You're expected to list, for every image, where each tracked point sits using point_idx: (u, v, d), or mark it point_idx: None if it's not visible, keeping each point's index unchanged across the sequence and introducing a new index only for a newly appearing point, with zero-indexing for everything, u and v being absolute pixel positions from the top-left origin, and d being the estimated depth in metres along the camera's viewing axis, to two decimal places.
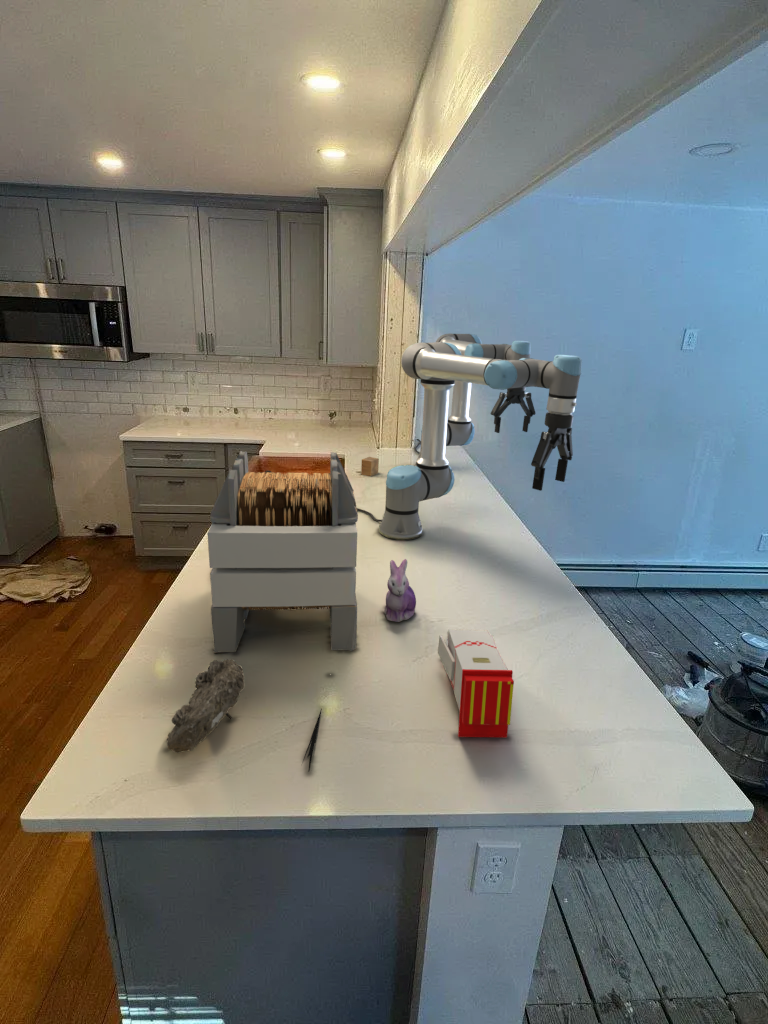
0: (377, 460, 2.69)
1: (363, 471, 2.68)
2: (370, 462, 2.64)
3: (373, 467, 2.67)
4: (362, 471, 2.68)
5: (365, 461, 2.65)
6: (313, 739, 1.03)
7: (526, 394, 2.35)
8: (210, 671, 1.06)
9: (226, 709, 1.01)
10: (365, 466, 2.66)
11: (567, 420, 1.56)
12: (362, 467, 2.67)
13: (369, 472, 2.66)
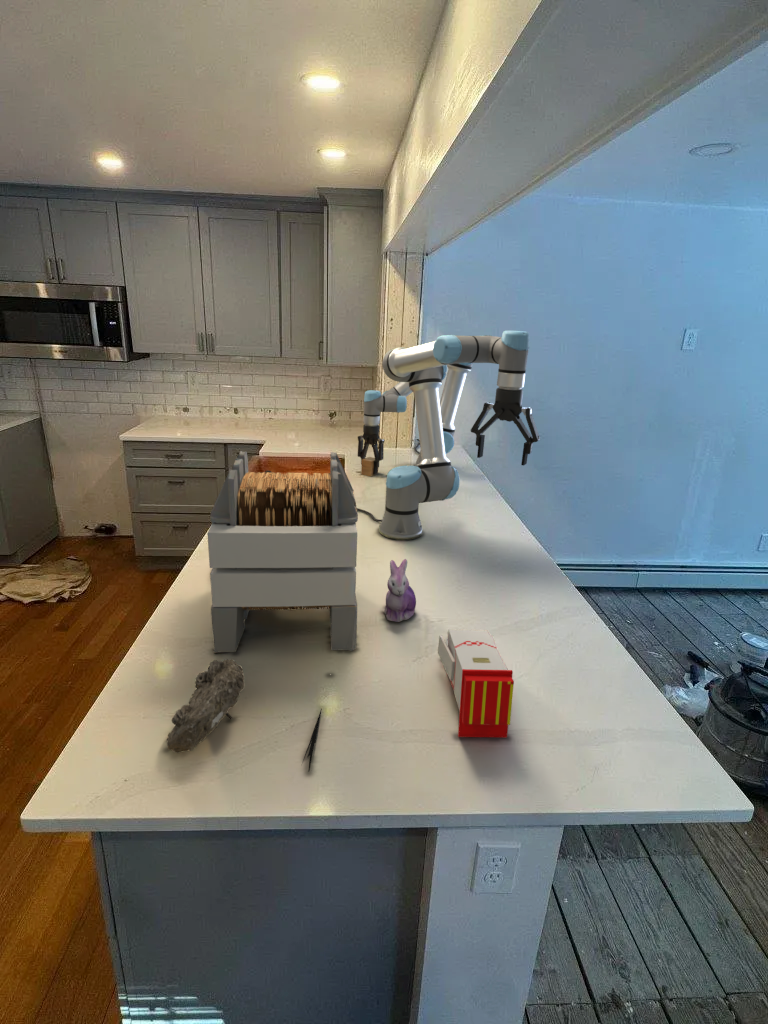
0: None
1: (363, 471, 2.68)
2: (370, 462, 2.64)
3: None
4: (362, 471, 2.68)
5: (365, 461, 2.65)
6: (313, 739, 1.03)
7: None
8: (210, 671, 1.06)
9: (226, 709, 1.01)
10: (365, 466, 2.66)
11: None
12: (362, 467, 2.67)
13: (369, 472, 2.66)
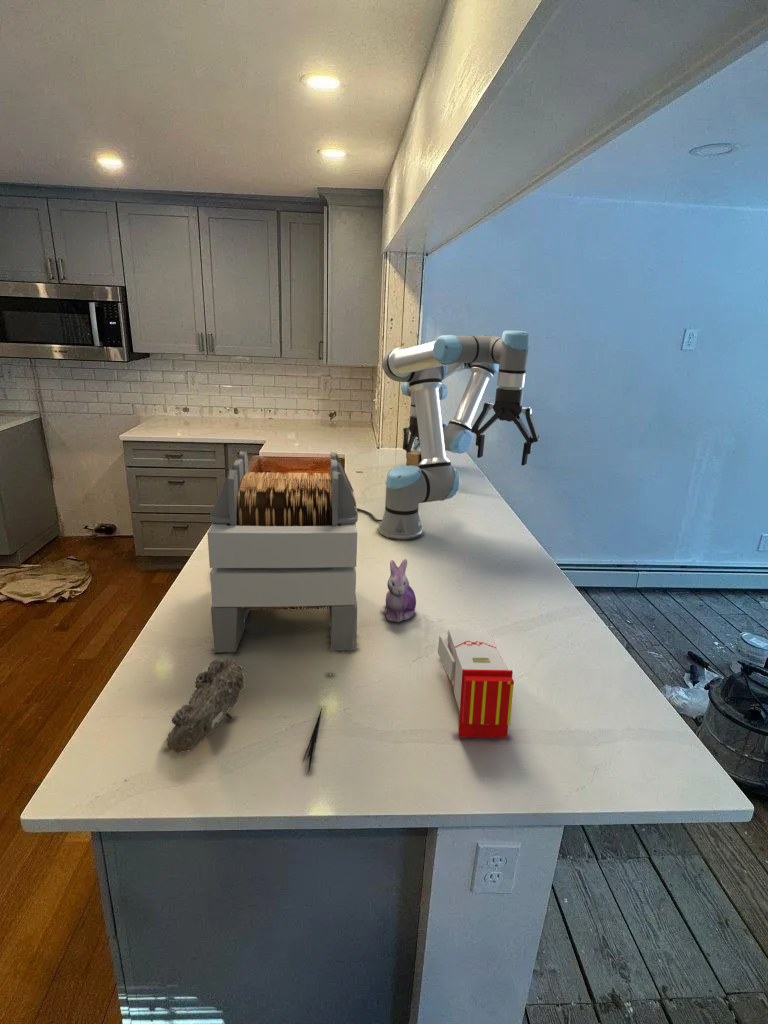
0: None
1: (408, 465, 2.56)
2: (416, 455, 2.52)
3: None
4: (407, 465, 2.56)
5: (410, 454, 2.53)
6: (313, 739, 1.03)
7: None
8: (210, 671, 1.06)
9: (226, 709, 1.01)
10: (411, 460, 2.54)
11: None
12: (407, 461, 2.56)
13: None
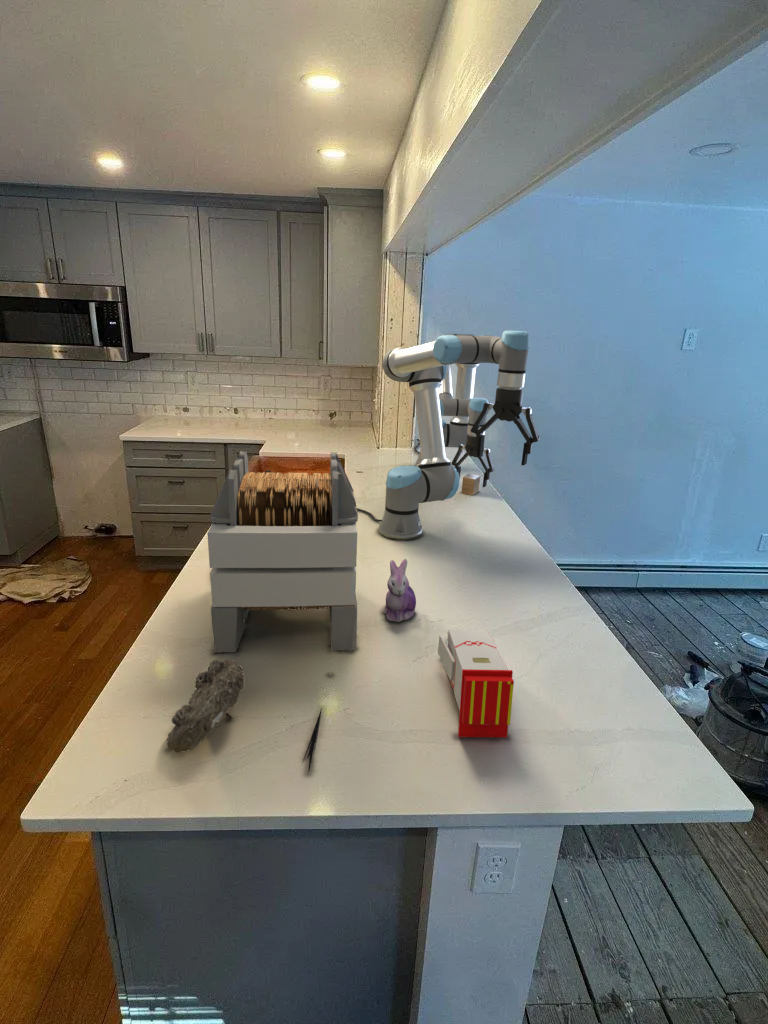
0: (479, 478, 2.48)
1: (464, 490, 2.47)
2: (473, 480, 2.43)
3: (475, 486, 2.46)
4: (463, 490, 2.47)
5: (467, 479, 2.45)
6: (313, 739, 1.03)
7: None
8: (210, 671, 1.06)
9: (226, 709, 1.01)
10: (467, 485, 2.45)
11: None
12: (462, 485, 2.47)
13: (471, 490, 2.45)
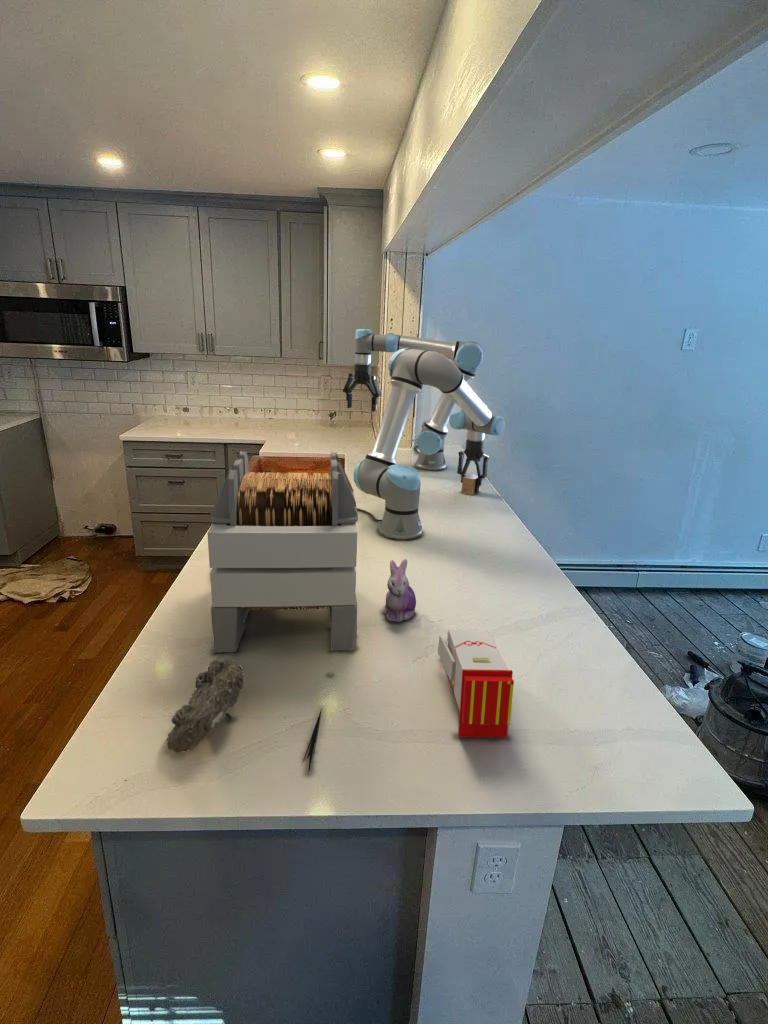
0: None
1: (464, 490, 2.47)
2: (473, 480, 2.43)
3: (475, 486, 2.46)
4: (463, 490, 2.47)
5: (467, 479, 2.45)
6: (313, 739, 1.03)
7: None
8: (210, 671, 1.06)
9: (226, 709, 1.01)
10: (467, 485, 2.45)
11: None
12: (462, 485, 2.47)
13: (471, 490, 2.45)
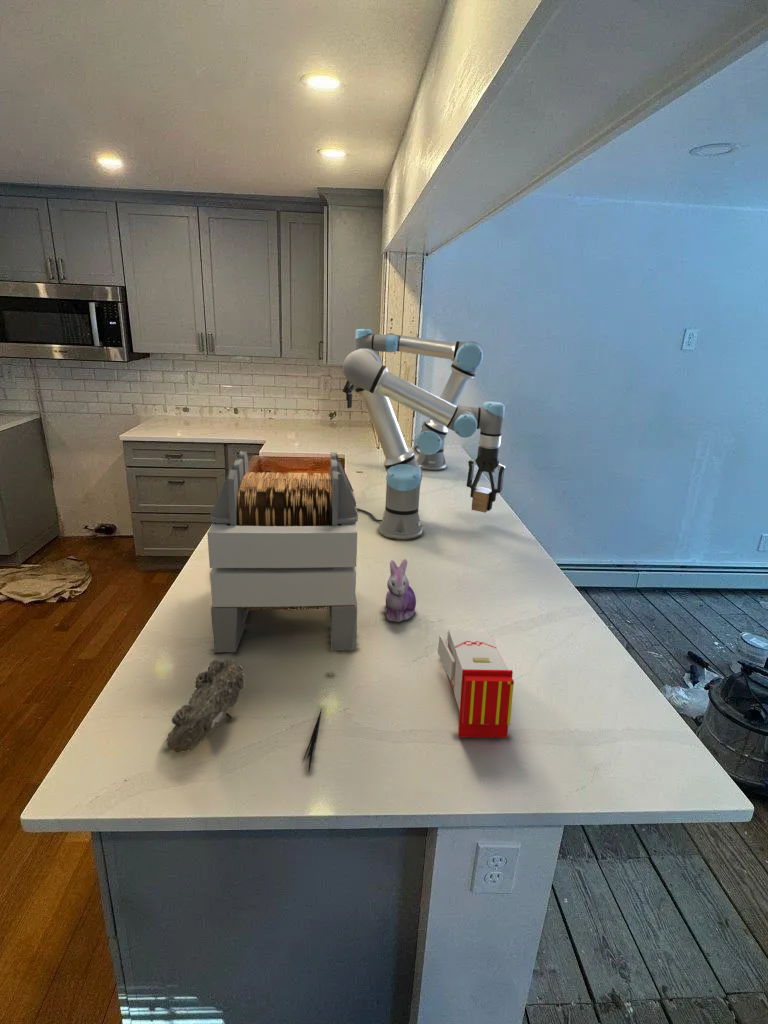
0: None
1: (474, 506, 2.07)
2: (486, 495, 2.03)
3: (488, 501, 2.06)
4: (473, 506, 2.07)
5: (479, 493, 2.05)
6: (313, 739, 1.03)
7: None
8: (210, 671, 1.06)
9: (226, 709, 1.01)
10: (478, 500, 2.05)
11: None
12: (473, 501, 2.06)
13: (484, 507, 2.05)
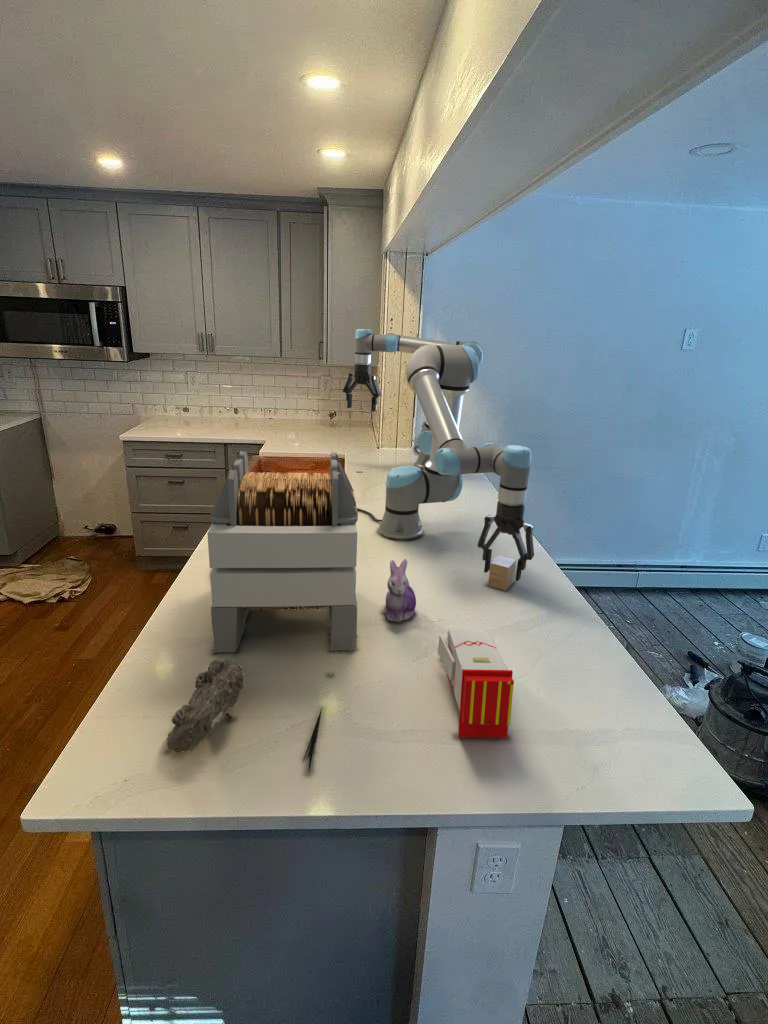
0: (514, 563, 1.65)
1: (492, 582, 1.64)
2: (506, 569, 1.60)
3: (509, 576, 1.63)
4: (490, 581, 1.64)
5: (497, 566, 1.62)
6: (313, 739, 1.03)
7: None
8: (210, 671, 1.06)
9: (226, 709, 1.01)
10: (497, 575, 1.62)
11: None
12: (490, 575, 1.64)
13: (504, 584, 1.62)
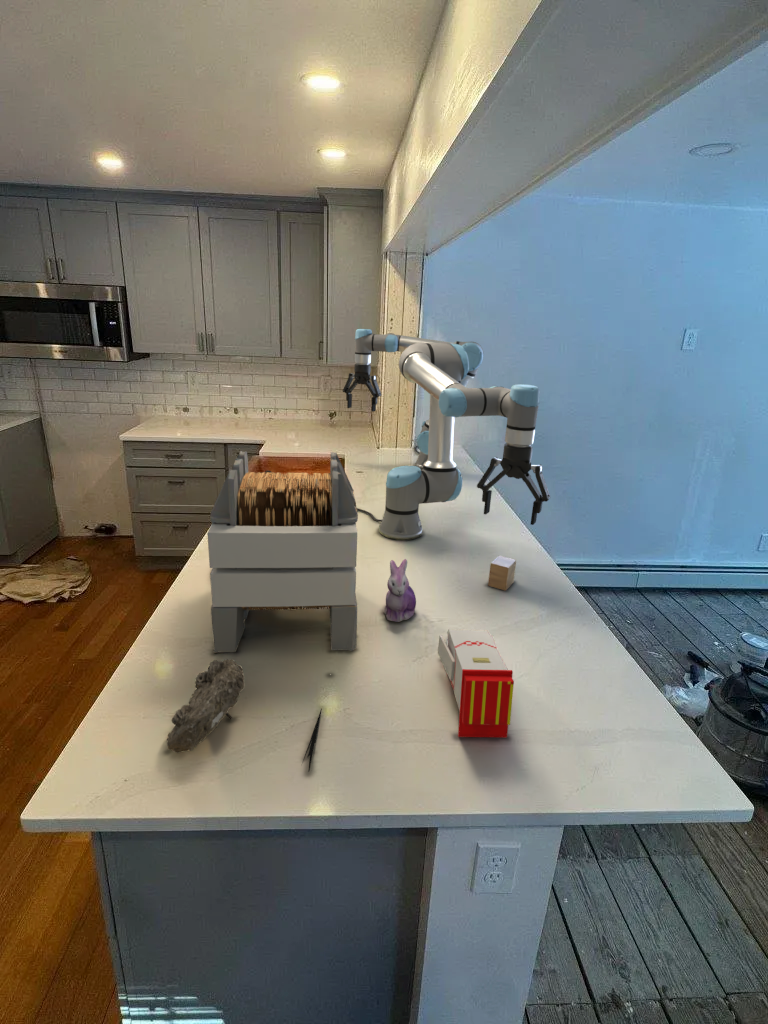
0: (514, 563, 1.65)
1: (492, 582, 1.64)
2: (506, 569, 1.60)
3: (509, 576, 1.63)
4: (490, 581, 1.64)
5: (497, 566, 1.62)
6: (313, 739, 1.03)
7: None
8: (210, 671, 1.06)
9: (226, 709, 1.01)
10: (497, 575, 1.62)
11: None
12: (490, 575, 1.64)
13: (504, 584, 1.62)
